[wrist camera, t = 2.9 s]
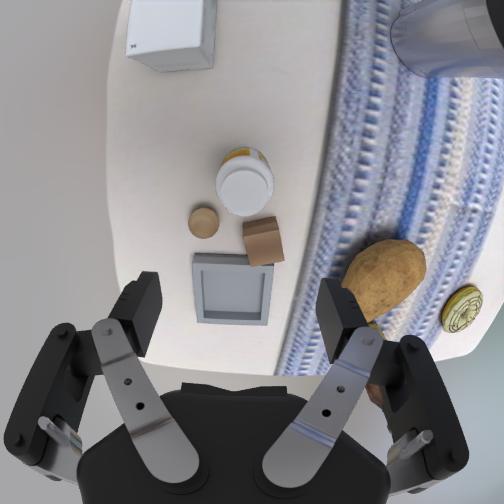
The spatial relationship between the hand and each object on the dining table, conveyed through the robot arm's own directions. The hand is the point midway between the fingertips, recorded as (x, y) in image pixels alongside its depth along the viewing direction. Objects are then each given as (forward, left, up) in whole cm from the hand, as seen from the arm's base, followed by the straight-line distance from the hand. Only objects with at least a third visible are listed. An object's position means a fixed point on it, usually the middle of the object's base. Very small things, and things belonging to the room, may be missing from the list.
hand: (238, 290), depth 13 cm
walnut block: (+6, +3, -21) cm, 22 cm away
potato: (+10, +18, -21) cm, 29 cm away
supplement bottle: (-2, 0, -21) cm, 21 cm away
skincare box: (-19, -7, -21) cm, 29 cm away
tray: (+14, -1, -20) cm, 25 cm away
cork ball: (+4, -4, -19) cm, 20 cm away
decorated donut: (+19, +43, -21) cm, 52 cm away
